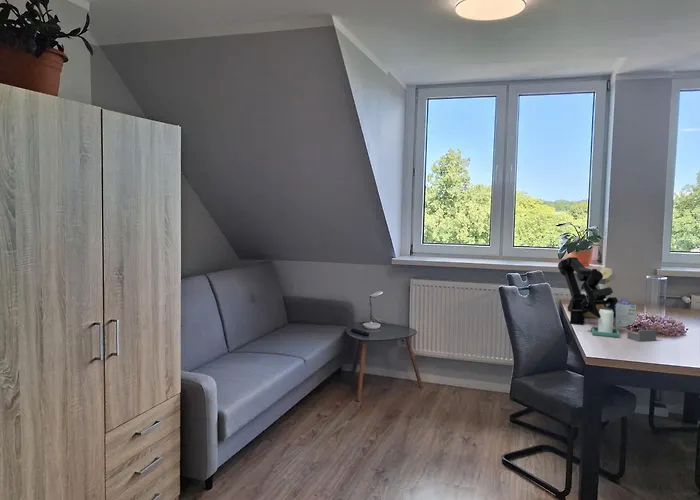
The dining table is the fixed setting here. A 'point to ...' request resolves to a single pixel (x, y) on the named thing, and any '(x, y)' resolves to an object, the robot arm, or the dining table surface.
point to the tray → (605, 333)
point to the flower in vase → (606, 274)
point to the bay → (643, 335)
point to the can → (605, 320)
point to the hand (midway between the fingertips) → (607, 317)
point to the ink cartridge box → (624, 313)
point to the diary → (590, 315)
